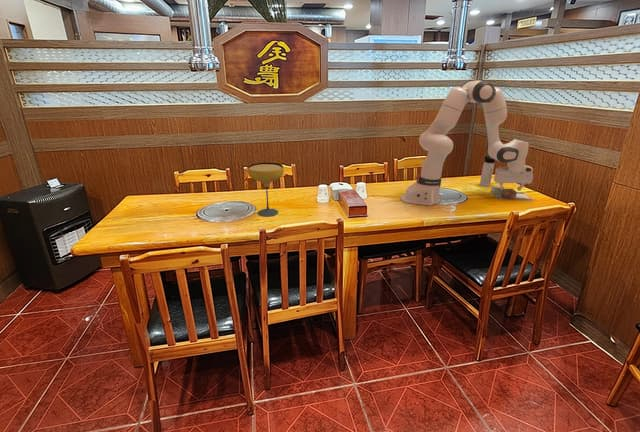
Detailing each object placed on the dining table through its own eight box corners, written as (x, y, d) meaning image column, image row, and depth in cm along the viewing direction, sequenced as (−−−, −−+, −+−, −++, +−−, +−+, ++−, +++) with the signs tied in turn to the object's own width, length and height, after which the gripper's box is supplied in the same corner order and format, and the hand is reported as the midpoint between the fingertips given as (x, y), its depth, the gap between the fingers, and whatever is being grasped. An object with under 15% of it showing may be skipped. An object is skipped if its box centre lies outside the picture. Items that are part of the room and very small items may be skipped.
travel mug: (478, 184, 231) (484, 155, 224) (489, 185, 229) (495, 156, 222) (479, 187, 226) (484, 157, 218) (490, 188, 224) (496, 158, 216)
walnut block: (504, 198, 203) (506, 191, 201) (501, 195, 209) (502, 188, 207) (515, 199, 202) (517, 192, 201) (511, 196, 208) (513, 189, 206)
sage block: (493, 193, 212) (494, 187, 210) (490, 191, 216) (492, 185, 215) (501, 194, 211) (503, 187, 210) (499, 191, 216) (500, 185, 214)
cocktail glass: (287, 206, 191) (285, 162, 181) (282, 219, 174) (280, 171, 165) (254, 206, 192) (251, 162, 182) (247, 219, 175) (243, 171, 165)
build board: (497, 200, 204) (497, 198, 203) (489, 192, 217) (489, 190, 217) (533, 202, 201) (533, 200, 201) (523, 194, 215) (523, 192, 214)
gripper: (498, 168, 197) (493, 191, 202) (536, 169, 194) (530, 192, 200) (494, 165, 203) (490, 187, 208) (531, 166, 200) (526, 188, 205)
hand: (510, 190), depth 204 cm, fingers open, 8 cm apart
